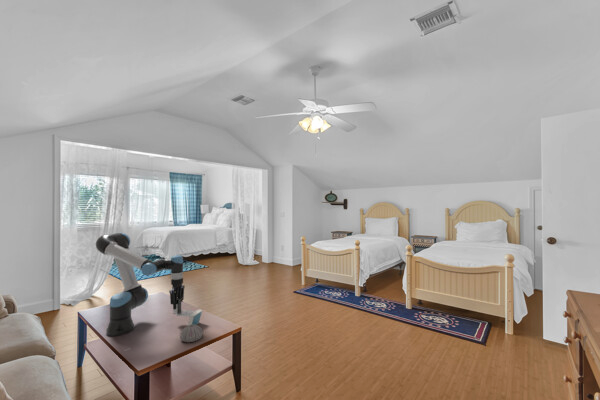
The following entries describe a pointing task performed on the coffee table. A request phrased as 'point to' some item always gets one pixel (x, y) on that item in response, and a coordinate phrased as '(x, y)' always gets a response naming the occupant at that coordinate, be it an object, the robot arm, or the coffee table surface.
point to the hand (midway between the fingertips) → (177, 312)
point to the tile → (195, 317)
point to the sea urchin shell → (191, 333)
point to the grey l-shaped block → (184, 312)
